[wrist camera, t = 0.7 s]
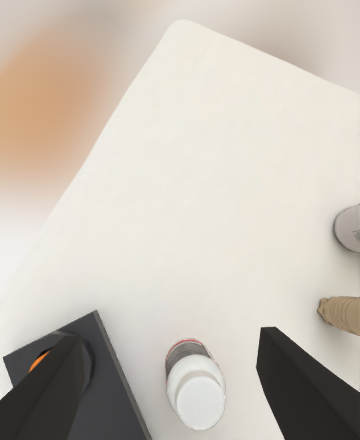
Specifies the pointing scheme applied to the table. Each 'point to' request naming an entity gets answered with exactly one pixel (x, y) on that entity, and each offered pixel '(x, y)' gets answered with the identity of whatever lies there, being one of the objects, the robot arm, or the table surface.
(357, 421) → the robot arm
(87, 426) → the base
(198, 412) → the pill bottle
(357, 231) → the energy drink can
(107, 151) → the table surface
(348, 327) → the handle
